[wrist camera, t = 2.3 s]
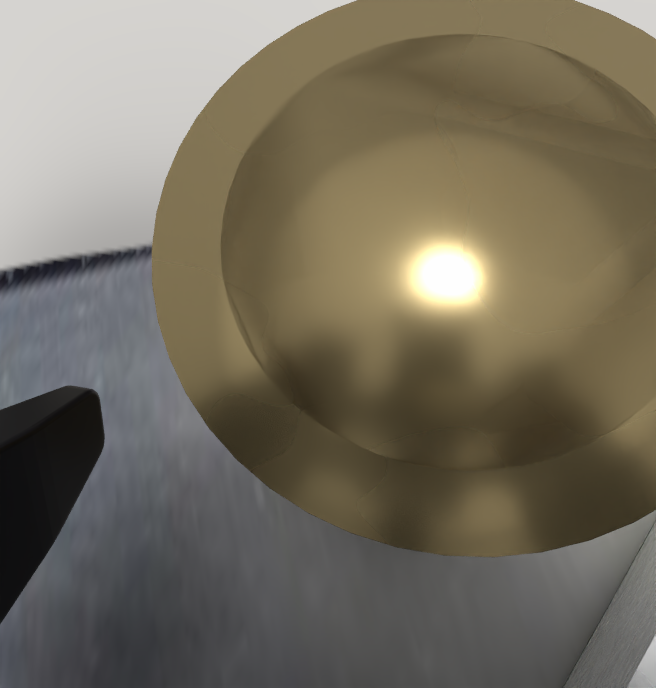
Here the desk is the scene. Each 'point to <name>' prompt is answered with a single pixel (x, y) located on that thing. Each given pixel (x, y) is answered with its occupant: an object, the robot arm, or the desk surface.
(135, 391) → the desk surface
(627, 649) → the metal roller frame
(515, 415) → the pin
